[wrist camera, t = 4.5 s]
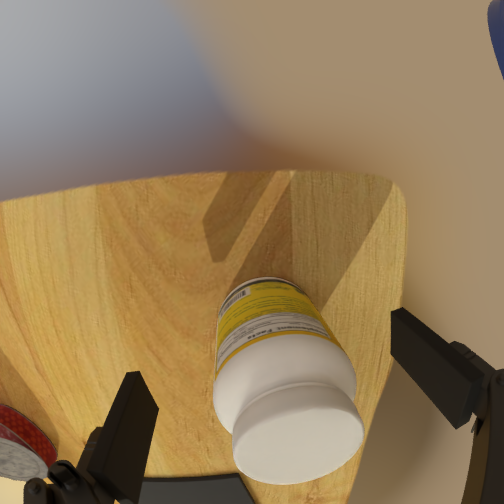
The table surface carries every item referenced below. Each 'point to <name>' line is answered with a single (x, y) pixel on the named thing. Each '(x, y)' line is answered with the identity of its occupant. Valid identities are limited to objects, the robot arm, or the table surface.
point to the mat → (195, 490)
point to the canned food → (23, 447)
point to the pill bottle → (283, 385)
